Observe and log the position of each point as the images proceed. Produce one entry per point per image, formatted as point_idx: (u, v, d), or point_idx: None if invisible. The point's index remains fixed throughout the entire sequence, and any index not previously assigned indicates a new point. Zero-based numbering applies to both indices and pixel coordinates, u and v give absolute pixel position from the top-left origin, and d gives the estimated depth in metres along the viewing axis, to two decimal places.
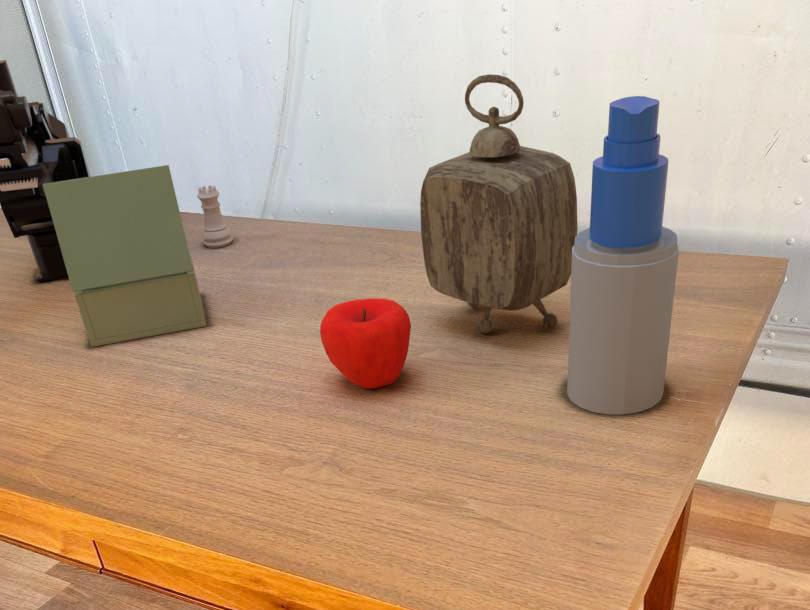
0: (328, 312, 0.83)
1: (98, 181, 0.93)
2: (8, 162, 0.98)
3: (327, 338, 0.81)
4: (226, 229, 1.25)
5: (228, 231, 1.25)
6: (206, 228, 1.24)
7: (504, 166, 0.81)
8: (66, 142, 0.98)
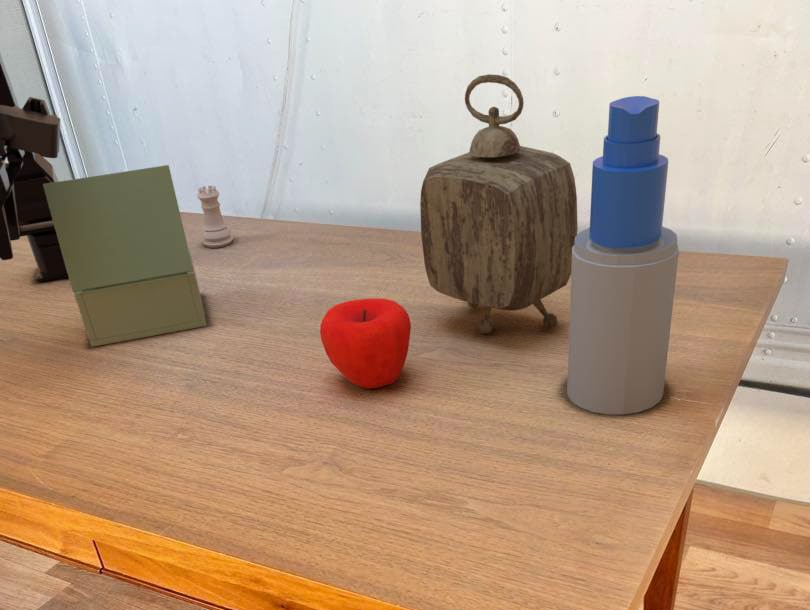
0: (328, 312, 0.83)
1: (98, 181, 0.93)
2: None
3: (327, 338, 0.81)
4: (226, 229, 1.25)
5: (228, 231, 1.25)
6: (206, 228, 1.24)
7: (504, 166, 0.81)
8: (22, 154, 0.91)
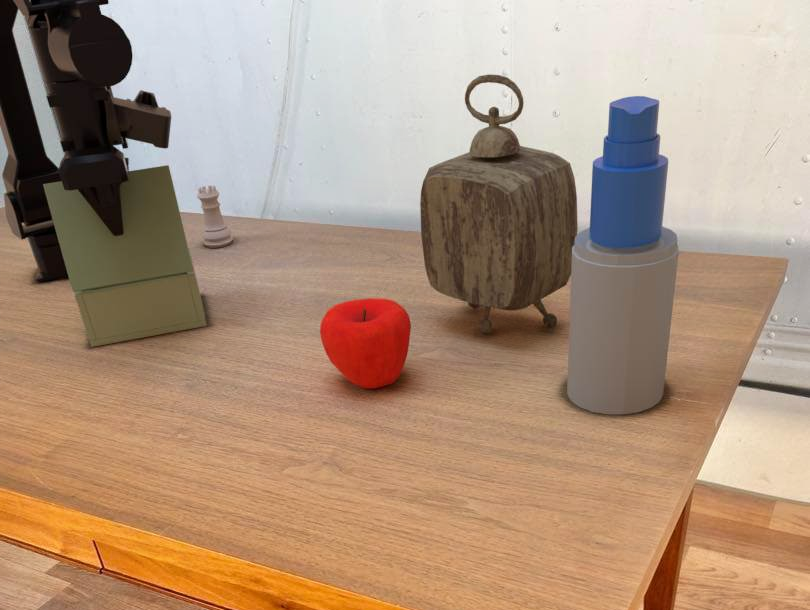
0: (328, 312, 0.83)
1: None
2: None
3: (327, 338, 0.81)
4: (226, 229, 1.25)
5: (228, 231, 1.25)
6: (206, 228, 1.24)
7: (504, 166, 0.81)
8: None
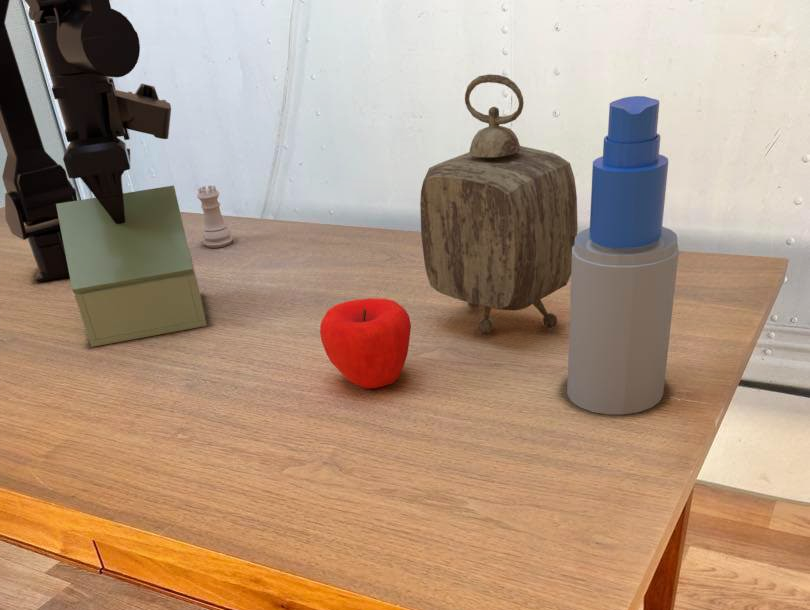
0: (328, 312, 0.83)
1: None
2: None
3: (327, 338, 0.81)
4: (226, 229, 1.25)
5: (228, 231, 1.25)
6: (206, 228, 1.24)
7: (504, 166, 0.81)
8: (128, 136, 1.00)
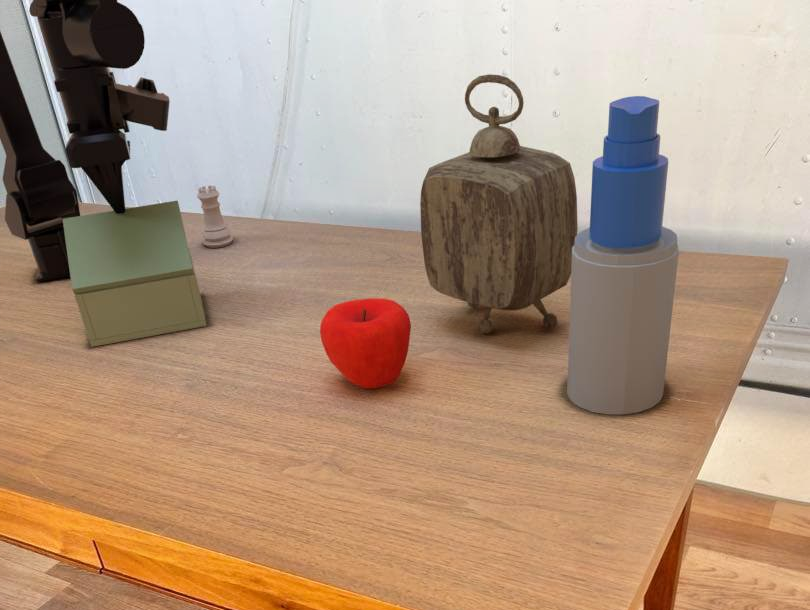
0: (328, 312, 0.83)
1: (112, 214, 1.01)
2: None
3: (327, 338, 0.81)
4: (226, 229, 1.25)
5: (228, 231, 1.25)
6: (206, 228, 1.24)
7: (504, 166, 0.81)
8: (128, 129, 1.03)
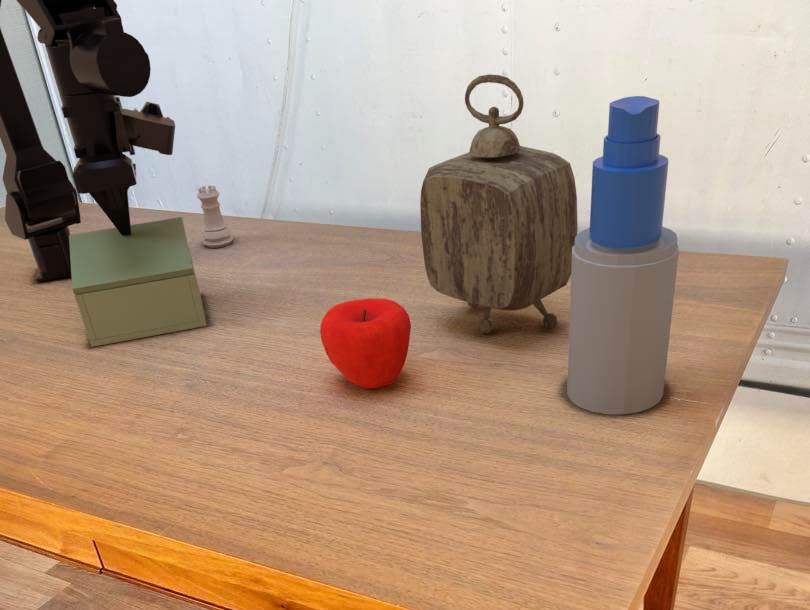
0: (328, 312, 0.83)
1: None
2: None
3: (327, 338, 0.81)
4: (226, 229, 1.25)
5: (228, 231, 1.25)
6: (206, 228, 1.24)
7: (504, 166, 0.81)
8: None
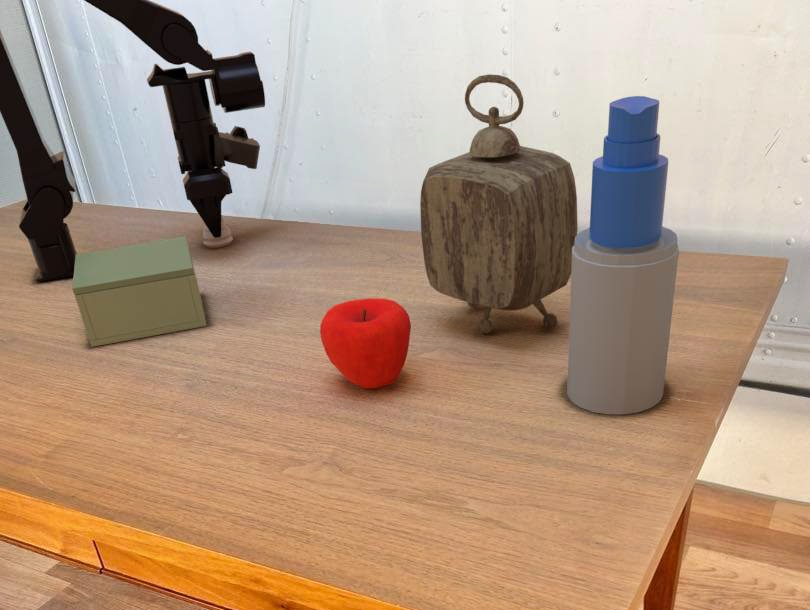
0: (328, 312, 0.83)
1: (122, 248, 1.04)
2: None
3: (327, 338, 0.81)
4: (226, 229, 1.25)
5: (228, 231, 1.25)
6: (206, 228, 1.24)
7: (504, 166, 0.81)
8: None
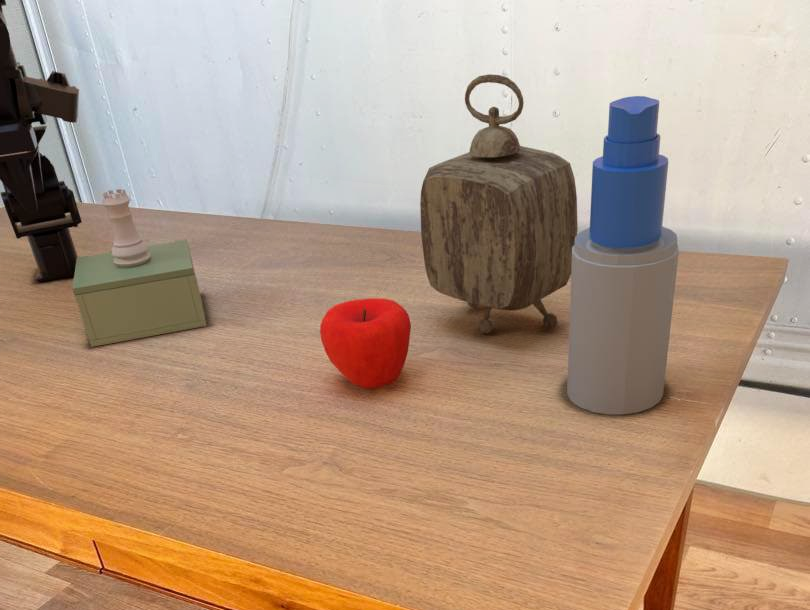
0: (328, 312, 0.83)
1: None
2: None
3: (327, 338, 0.81)
4: (141, 244, 0.99)
5: (144, 246, 0.99)
6: (115, 243, 0.99)
7: (504, 166, 0.81)
8: (45, 121, 1.06)
